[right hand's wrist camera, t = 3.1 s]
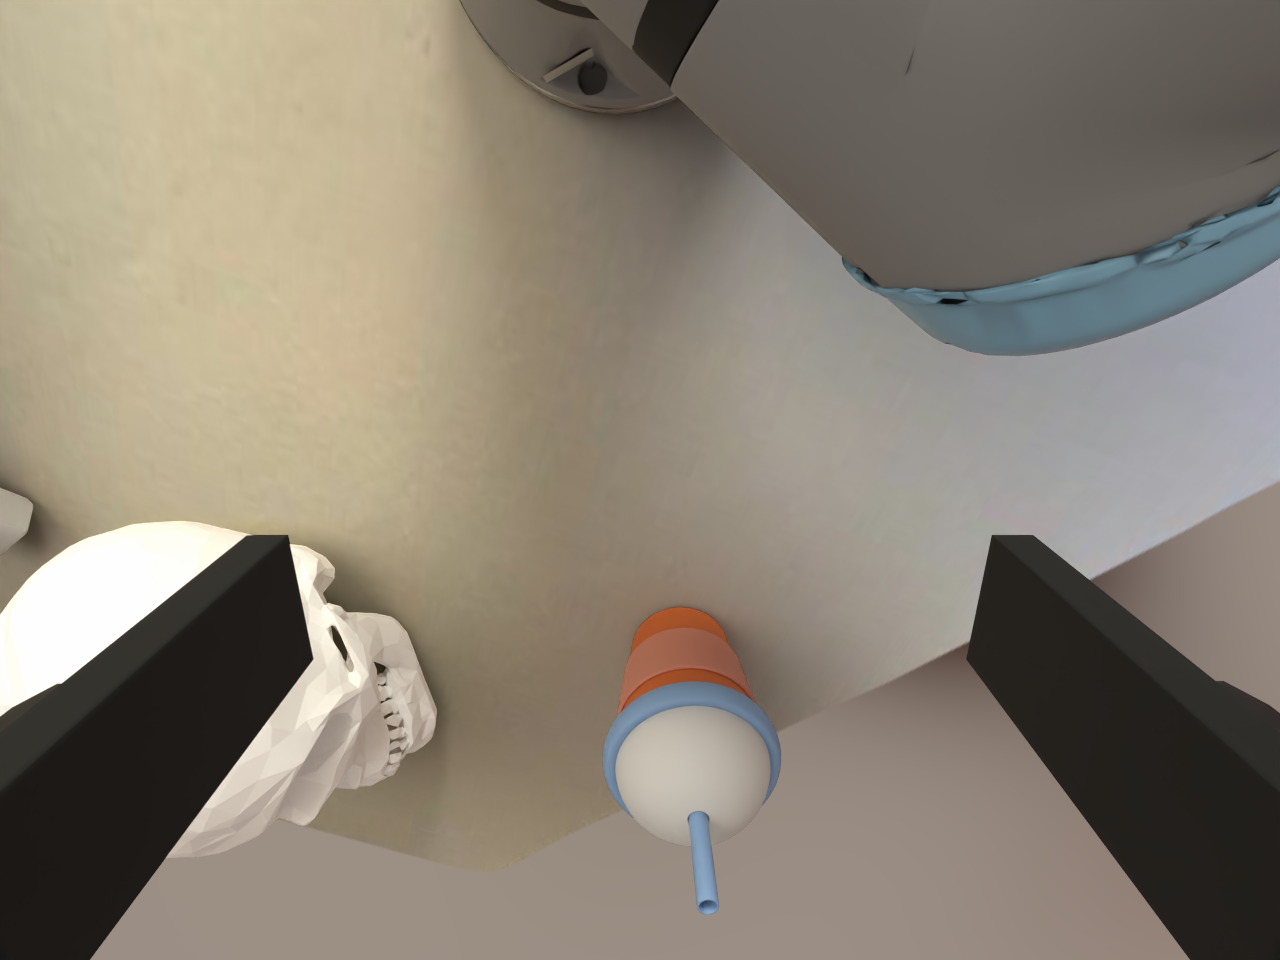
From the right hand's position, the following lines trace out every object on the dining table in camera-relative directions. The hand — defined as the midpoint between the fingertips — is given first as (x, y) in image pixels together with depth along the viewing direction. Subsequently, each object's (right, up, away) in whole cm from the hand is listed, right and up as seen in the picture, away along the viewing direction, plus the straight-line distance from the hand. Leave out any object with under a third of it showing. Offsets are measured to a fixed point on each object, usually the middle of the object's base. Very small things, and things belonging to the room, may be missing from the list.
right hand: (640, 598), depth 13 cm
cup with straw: (+2, -9, +31) cm, 32 cm away
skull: (-22, -7, +30) cm, 38 cm away
